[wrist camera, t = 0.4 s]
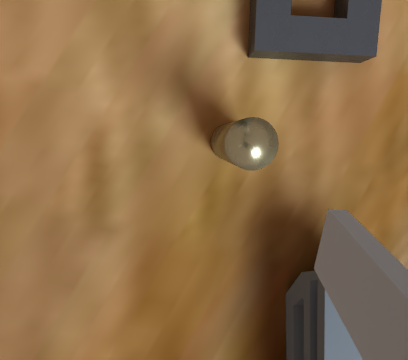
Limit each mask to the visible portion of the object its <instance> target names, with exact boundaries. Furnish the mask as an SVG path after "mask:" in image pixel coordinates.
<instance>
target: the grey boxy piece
mask: <svg viewBox="0 0 408 360" xmlns="http://www.w3.org/2000/svg"><path fill="white" fill-rule="evenodd" d="M286 360H363V359H362V357H361V355H360V353H359V351H358V349H357V348H356V346H355V344H354V342H353V340H352V338H351V336H350V335H349V333H348V331H347V329H346V327H345V325H344V324H343V322H342V320H341V318H340V316H339V314H338V312H337V311H336V309H335V307H334V305H333V303H332V301H331V299H330V298H329V296H328V294H327V292H326V290H325V288H324V287H323V285H322V283H321V281H320V279H319V277H318V275H317V274H316V272H315V271H306V272H301V274H300V275H299V276H298V278H297V279H296V280H295V282H294V283H293V284H292V286H291V287H290V289H289V290H288V291H287V293H286Z"/></svg>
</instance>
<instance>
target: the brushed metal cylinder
mask: <svg viewBox="0 0 408 360" xmlns="http://www.w3.org/2000/svg"><path fill="white" fill-rule="evenodd" d="M211 147H212V150H213V152H214V153H215V154H216V155H217V156H218V157H219V158H221V159H223V160H225V161H227V162H230V163H232V164H234V165H236V166H238V167H240V168H242V169H245V170H259V169H262V168H264V167H265V166H267V165H268V164H269V163H270V162H271V161H272V160H273V159H274V157H275V155H276V153H277V150H278V136H277V133H276V131H275V129H274V128H273V127H272V125H271V124H270V123H268V122H267V121H265V120H263V119H261V118H256V117H250V118H245V119H242V120H238V121H235V122H231V123H227V124H224V125H221V126H219V127H218V128H217V129H216V130H215V131H214V132H213V134H212V137H211Z"/></svg>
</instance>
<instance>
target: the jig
mask: <svg viewBox="0 0 408 360" xmlns="http://www.w3.org/2000/svg"><path fill="white" fill-rule="evenodd" d="M381 2H382V0H335V11H334V18H330V17H314V16H298V15H291V0H251V1H250V25H249V49H248V57H249V58H270V59H291V60H312V61H332V62H353V63H361V62H364V61H366V60H369V59H371V58H373V57H376V53H377V43H378V33H379V22H380V12H381Z"/></svg>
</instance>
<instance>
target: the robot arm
mask: <svg viewBox="0 0 408 360" xmlns="http://www.w3.org/2000/svg"><path fill="white" fill-rule="evenodd" d="M314 270H315V272H316V274H317V275H318V277H319V279H320V281H321V283H322V285H323V287H324V288H325V290H326V292H327V294H328V296H329V298H330V299H331V301H332V303H333V305H334V307H335V309H336V311H337V312H338V314H339V316H340V318H341V320H342V322H343V324H344V325H345V327H346V329H347V331H348V333H349V335H350V336H351V338H352V340H353V342H354V344H355V346H356V348H357V349H358V351H359V353H360V355H361V357H362V359H363V360H408V270H407V269H406V268H405V267H404V266H403V265H402V264H401V263H400V262H399V261H398V260H397V259H396V258H395V257H394V256H393V255H392V254H391V253H390V252H389V251H388V250H387V249H386V248H385V247H384V246H383V245H382V244H381V243H380V242H379V241H378V240H377V239H376V238H375V237H374V236H373V235H372V234H371V233H370V232H369V231H368V230H367V229H366V228H365V227H364V226H363V225H362V224H361V223H360V222H359V221H358V220H357V219H355V218H354V217H353V216H352V215H351V214H350V213H349V212H348V211H347V210H334V209H328V211H327V215H326V219H325V224H324V228H323V232H322V236H321V240H320V245H319V249H318V253H317V257H316V261H315V265H314Z"/></svg>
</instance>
